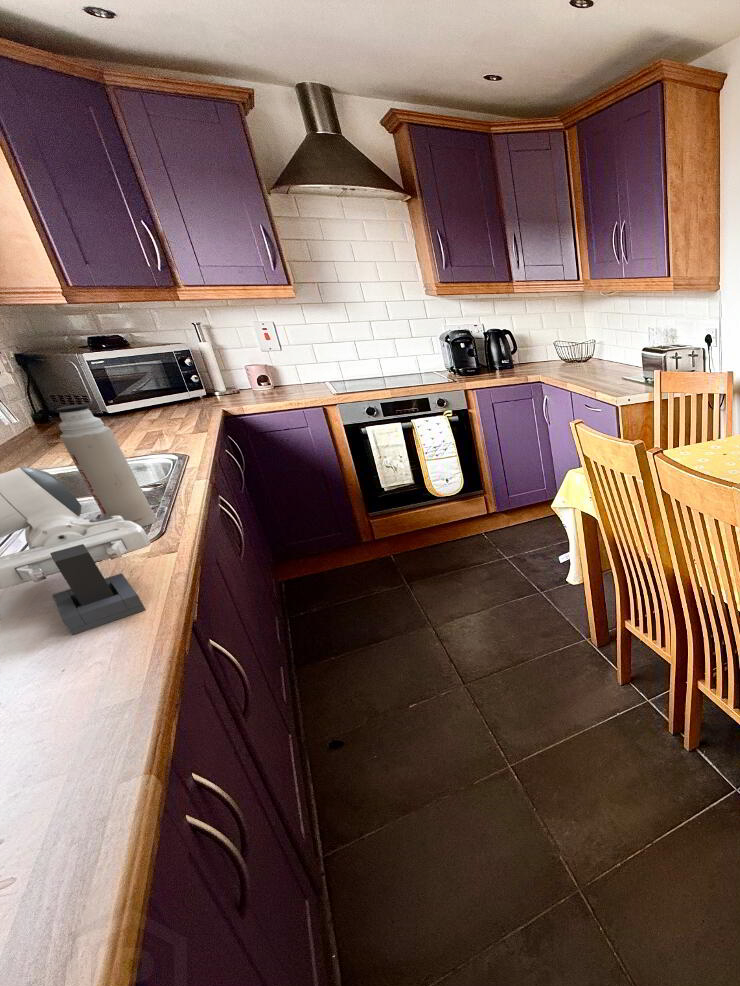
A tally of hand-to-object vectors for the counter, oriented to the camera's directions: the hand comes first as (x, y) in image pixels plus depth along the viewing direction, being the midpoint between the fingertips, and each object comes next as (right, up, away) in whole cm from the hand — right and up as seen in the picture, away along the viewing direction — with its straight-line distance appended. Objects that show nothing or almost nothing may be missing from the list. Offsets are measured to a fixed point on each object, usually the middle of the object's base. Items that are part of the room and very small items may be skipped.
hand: (77, 565), depth 99 cm
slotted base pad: (+3, -8, +1) cm, 8 cm away
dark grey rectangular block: (+3, -7, +1) cm, 8 cm away
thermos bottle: (-28, +8, +38) cm, 48 cm away
